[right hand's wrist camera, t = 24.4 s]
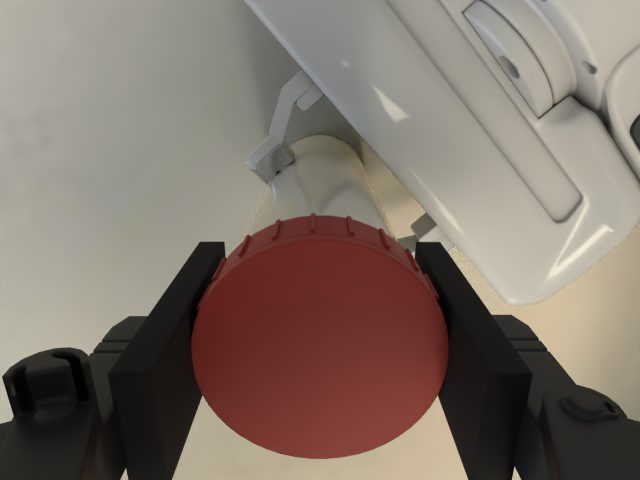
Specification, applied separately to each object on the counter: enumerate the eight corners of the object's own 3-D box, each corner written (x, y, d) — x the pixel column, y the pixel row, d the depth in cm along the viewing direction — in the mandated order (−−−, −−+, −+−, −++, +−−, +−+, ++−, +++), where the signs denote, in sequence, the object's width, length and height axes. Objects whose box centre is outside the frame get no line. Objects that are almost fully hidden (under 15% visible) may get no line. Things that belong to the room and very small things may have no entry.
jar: (257, 187, 28) (168, 352, 12) (312, 115, 26) (300, 187, 10) (327, 240, 29) (336, 455, 13) (383, 173, 27) (476, 321, 11)
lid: (221, 417, 13) (207, 467, 12) (189, 218, 11) (166, 243, 9) (430, 408, 13) (446, 456, 11) (438, 205, 11) (459, 228, 9)
